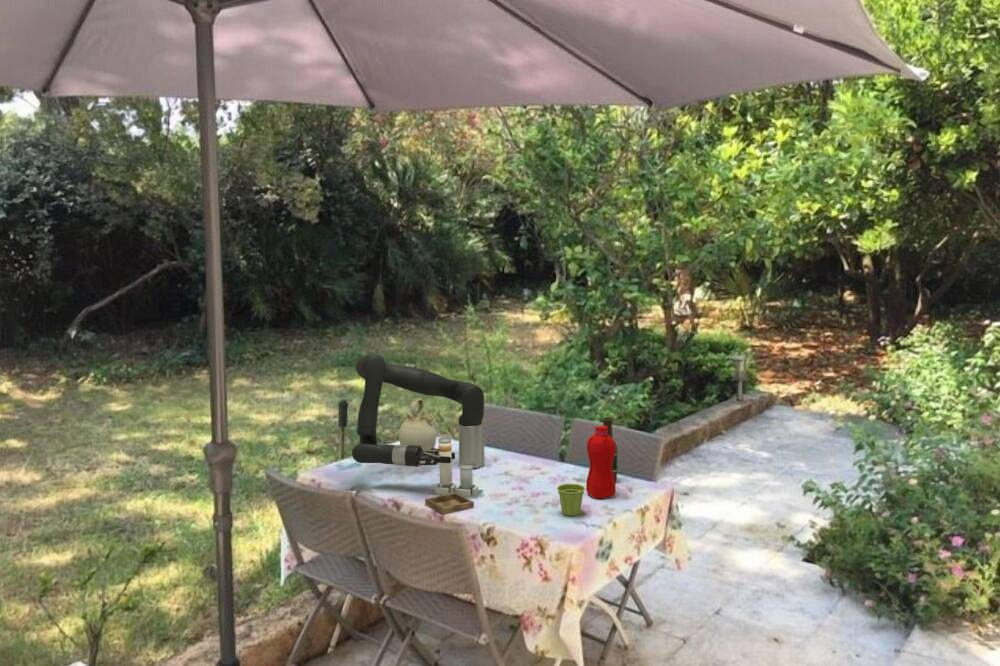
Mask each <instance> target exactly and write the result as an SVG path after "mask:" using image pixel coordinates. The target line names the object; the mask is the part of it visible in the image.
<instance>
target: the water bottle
mask: <svg viewBox="0 0 1000 666" xmlns="http://www.w3.org/2000/svg"><path fill="white" fill-rule="evenodd" d="M607 432H608V427H607V426H603V425H598V426H597V425H596V426H594V434H593V435H590V437H588V439H587V444H586V453H587V455H588V460H589V469H588V474H587V479H586V483H585V484H586V487H585V491H586V493H587V494H588V495H589V496H590V497H592V498H594V499H597V500H602V499H608V497H609V498H612V497H614V496H615V495H616V491H617V489H616V483H615V480H614V475H613V470H612V463H613V459H614V455H615V451H616V446H617V445H616V446H615V443H616V441H615V439H614V438H612V437H610V436H609V435H607ZM601 498H602V499H601Z"/></svg>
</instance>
